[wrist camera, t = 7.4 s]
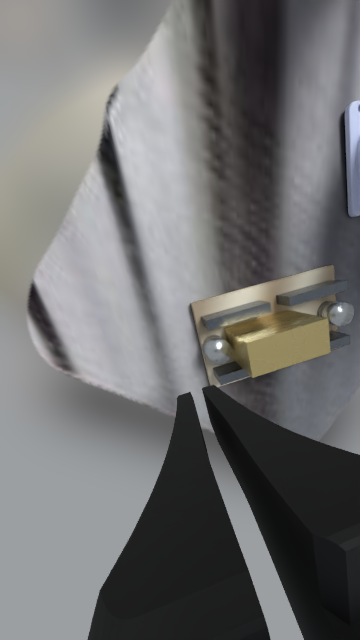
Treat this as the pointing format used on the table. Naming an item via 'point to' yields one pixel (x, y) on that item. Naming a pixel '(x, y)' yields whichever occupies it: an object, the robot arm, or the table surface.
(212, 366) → the plywood plate
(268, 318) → the khaki rectangular block
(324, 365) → the table surface
